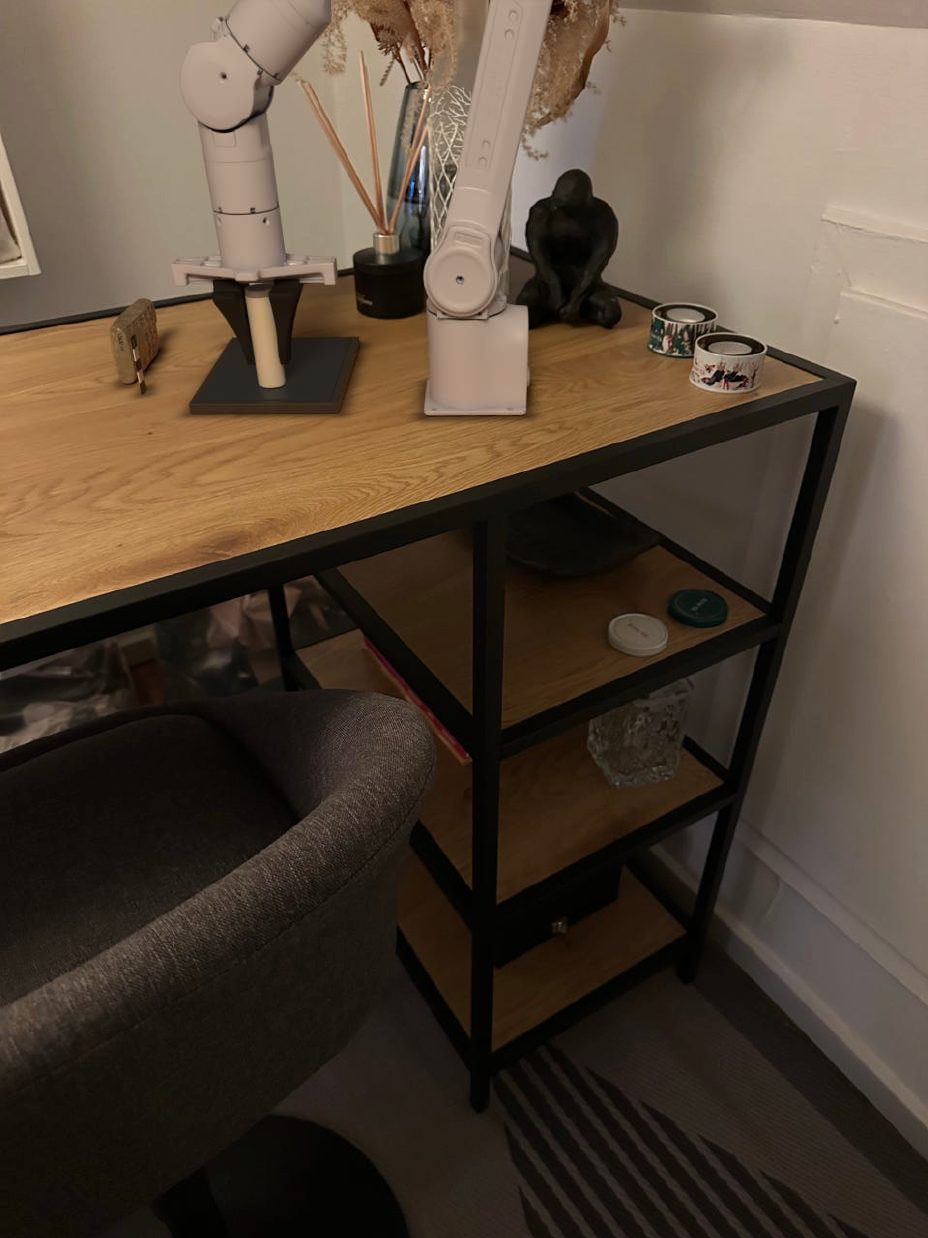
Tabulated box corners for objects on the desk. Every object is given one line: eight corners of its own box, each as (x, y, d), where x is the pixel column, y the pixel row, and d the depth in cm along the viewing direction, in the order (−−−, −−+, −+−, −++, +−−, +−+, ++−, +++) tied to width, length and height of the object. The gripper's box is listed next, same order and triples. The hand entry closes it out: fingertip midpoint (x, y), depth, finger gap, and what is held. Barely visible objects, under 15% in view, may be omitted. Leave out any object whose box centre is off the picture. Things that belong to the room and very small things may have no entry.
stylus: (288, 378, 86) (275, 283, 80) (283, 387, 83) (270, 291, 78) (261, 378, 86) (247, 283, 80) (256, 388, 83) (241, 291, 78)
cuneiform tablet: (131, 336, 82) (167, 297, 92) (90, 335, 82) (131, 295, 92) (143, 395, 86) (176, 351, 95) (104, 393, 86) (141, 350, 95)
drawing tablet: (359, 345, 96) (359, 335, 95) (339, 413, 81) (337, 402, 81) (233, 345, 96) (231, 336, 95) (190, 414, 82) (188, 403, 81)
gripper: (148, 219, 72) (182, 377, 80) (323, 217, 72) (339, 376, 80) (172, 200, 78) (202, 349, 86) (334, 198, 77) (348, 348, 86)
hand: (269, 360), depth 83 cm, fingers closed on stylus, 2 cm apart
